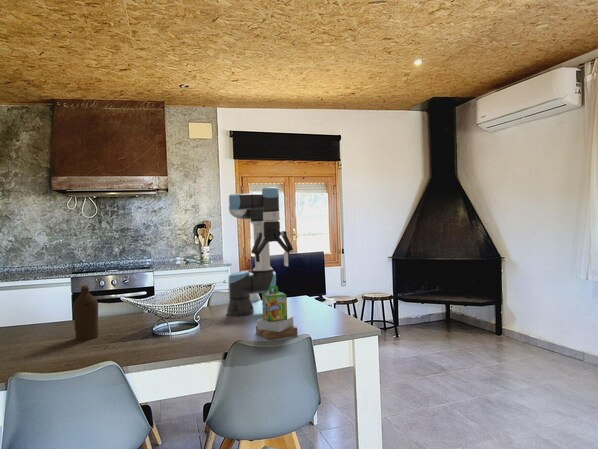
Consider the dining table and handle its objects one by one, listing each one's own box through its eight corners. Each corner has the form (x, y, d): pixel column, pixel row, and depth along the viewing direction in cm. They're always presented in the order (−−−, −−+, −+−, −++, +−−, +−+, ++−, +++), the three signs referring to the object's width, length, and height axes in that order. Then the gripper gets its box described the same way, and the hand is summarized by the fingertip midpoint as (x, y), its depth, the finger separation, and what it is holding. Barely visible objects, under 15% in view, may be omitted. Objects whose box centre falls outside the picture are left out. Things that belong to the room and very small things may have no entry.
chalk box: (269, 322, 178) (267, 289, 177) (262, 317, 186) (260, 286, 186) (288, 319, 181) (286, 286, 181) (280, 315, 190) (279, 284, 189)
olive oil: (104, 335, 193) (102, 283, 192) (85, 342, 183) (82, 287, 183) (89, 333, 197) (86, 283, 197) (69, 340, 188) (66, 286, 187)
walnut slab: (256, 334, 187) (255, 326, 187) (282, 329, 194) (282, 321, 194) (270, 342, 175) (269, 333, 175) (297, 336, 182) (297, 327, 182)
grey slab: (257, 329, 182) (257, 320, 182) (272, 322, 192) (271, 314, 192) (279, 332, 176) (279, 323, 176) (293, 325, 186) (293, 316, 186)
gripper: (249, 222, 173) (251, 271, 174) (299, 220, 186) (300, 265, 187) (242, 222, 180) (244, 269, 180) (291, 220, 193) (292, 264, 193)
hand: (273, 267), depth 184 cm, fingers open, 13 cm apart
